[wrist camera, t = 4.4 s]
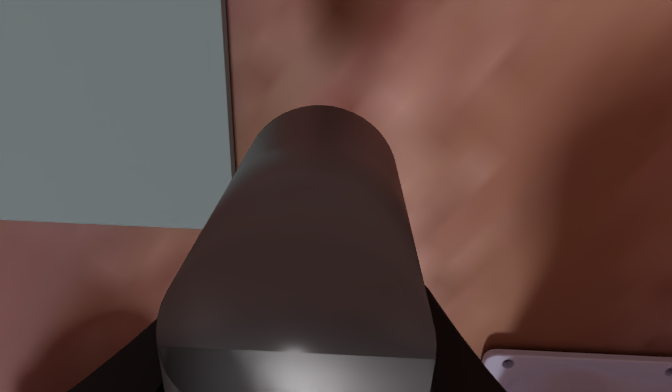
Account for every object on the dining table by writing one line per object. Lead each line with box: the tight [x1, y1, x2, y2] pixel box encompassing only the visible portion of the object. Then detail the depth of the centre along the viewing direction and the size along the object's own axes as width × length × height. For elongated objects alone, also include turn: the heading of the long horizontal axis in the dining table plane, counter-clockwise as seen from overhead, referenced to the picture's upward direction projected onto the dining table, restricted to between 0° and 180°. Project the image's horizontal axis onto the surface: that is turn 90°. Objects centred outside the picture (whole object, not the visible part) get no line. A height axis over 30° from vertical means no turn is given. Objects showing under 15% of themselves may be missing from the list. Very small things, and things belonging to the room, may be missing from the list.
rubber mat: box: [0, 0, 235, 229], centre depth 15 cm, size 11×13×1 cm
